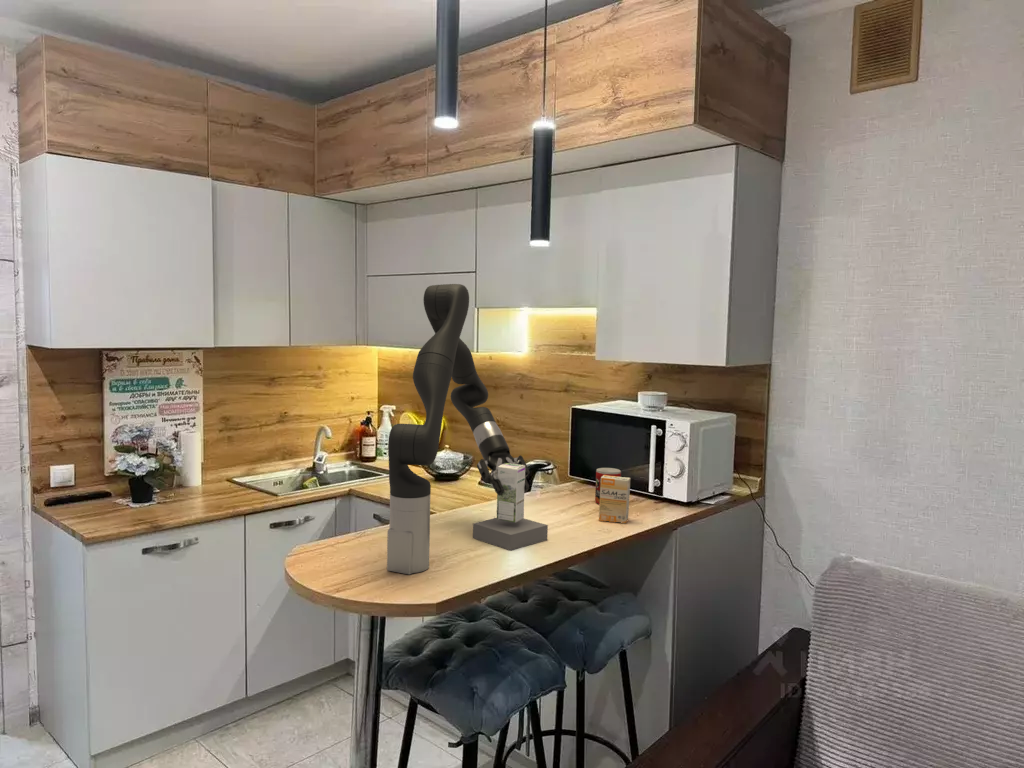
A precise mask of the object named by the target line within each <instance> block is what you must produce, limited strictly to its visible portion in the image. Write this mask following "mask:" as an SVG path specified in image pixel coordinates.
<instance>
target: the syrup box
mask: <svg viewBox="0 0 1024 768" xmlns="http://www.w3.org/2000/svg"><path fill="white" fill-rule="evenodd" d="M498 480H500V482H501V485H502V487H503V489H504V493H503V494H502V495H500V496H499V495H498V494H497V493H496V496H497V497H496V518H497V520H503V521H509V522H518V521H519V520H521V519H523V518H524V519H525V492H524V489H525V465H518V464H509V463H505V464H502V465H500V466H498Z"/></svg>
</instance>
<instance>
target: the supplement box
mask: <svg viewBox="0 0 1024 768" xmlns="http://www.w3.org/2000/svg"><path fill="white" fill-rule="evenodd" d="M630 490H631V477H625V476H624V477H622V476H621V477H617V476H608V475H603V476H602V477H601V485H600V505H599V504H598V505H599V507H598V510H599V511H598V521H600V522H606V521H609V522H608V523H615V522H622V523H621V524H623V523H626V524H627V523H628V521H629V512H630V508H629V507H630V492H631V491H630ZM627 520H628V521H627Z"/></svg>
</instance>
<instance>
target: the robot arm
mask: <svg viewBox="0 0 1024 768" xmlns="http://www.w3.org/2000/svg"><path fill="white" fill-rule="evenodd" d="M423 307H424V312H425V314H426V316H427V318H428V321H429V324H430V326H431V328H432V330H433V332H434V334H433V335H432V336H431V337H430V338H429V339H428V340H427V342H425V343H424V344H423V345H422V347H421V348H420V350H419V351H418V354H417V356H416V359H415V363H414V367H413V373H412V380H413V383H414V387H415V389H416V391H417V393H418V395H419V398H420V399H421V402H422V404H423V407H424V409H425V410H424V411H425V421H424V423H423V424H417V423H415V424H414V423H413V424H412V423H395V424H394V425H393V426H392V427H391V429H390V432H389V435H388V440H387V442H388V444H387V447H388V448H387V449H388V450H387V451H388V452H387V454H388V455H387V456H388V481H389V483H388V484H389V529H387V535H386V536H387V541H386V543H387V544H386V546H387V547H386V549H387V550H386V551H387V552H386V570H387V571H389V572H395V573H400V574H405V575H412V574H416V573H421V572H424V571H426V570H428V569H429V568H430V539H431V537H430V536H431V535H430V534H431V531H430V530H431V529H430V528H431V493H432V492H431V491H432V488H431V487H432V486H431V482H430V481H429V479H426V478H425V477H423V476H420V475H418V474H416V473H415V472H414V471H413V470H412V469H411V468H410V467H409V465H412V466H430V465H433V463H434V462H435V461H436V458H437V455H438V451H439V448H440V447H439V445H440V439H441V432H442V425H443V418H444V417H443V416H444V410H445V407H446V401H447V396H448V392H449V387H450V384H451V380H452V381H453V382H454V383H455V384H457V385H460V386H456V387H455V388H453V389H452V390H451V393H450V400H451V401H450V402H451V403H452V405H453V407H454V408H455V409H456V410H457V411H458V412H459V413H460V415H462V417H463V418H464V419H465V420H466V422H467V424H468V426H469V427H470V430H471V432H472V434H473V437H474V439H475V443H476V445H477V448H478V449H479V453H480V455H481V457H482V458H481V459H480V460H479V461H478V463H477V464H476V467H477V470H478V472H479V475H480V477H481V478H482V480H483V483H485V484H487V483H490V484H491V486H492V487H493V489H494V492H495V493H496V495H497V494H498V495H499V496H500V495H502V494H503V493H504V489H503V487H502V485H501V482H500V480H498V466H500V465H502V464H505V463H509V464H518V465H525V489H524V493H527V492H528V490H530V485H529V482H528V480H527V476H529V474H530V469H529V468H528V465H527V463H526V461H525V459H524V457H523V456H522V455H520V454H519V455H518V456H517V457H513V456H512V454H511V451H510V447H509V445H508V443H507V440H506V438H505V436H504V435H503V433H502V430H501V428H500V427H499V425H498V424H497V422H496V420H495V418H494V416H493V414H492V412H491V410H490V409H489V408H488V407H486V406H481V405H483V404H485V403H486V402H487V401H488V398H489V391H488V388H487V387H486V385H485V383H483V381H482V380H481V378H480V377H479V375H478V372H477V369H476V366H475V361H474V357H473V355H472V354H473V353H472V352H471V350H470V349H469V346H467V344H466V342H464V341H463V339H461V338H460V337H461V335H462V331H463V328H464V324H465V322H466V319H467V316H468V311H469V307H470V294H469V290H468V289H467V287H466V286H465V285H464V284H459V283H449V284H448V283H447V284H433V285H429V286H428V287H426V289H425V290H424V294H423ZM489 469H490V470H491V472H490V471H489Z"/></svg>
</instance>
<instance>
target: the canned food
mask: <svg viewBox="0 0 1024 768" xmlns="http://www.w3.org/2000/svg"><path fill="white" fill-rule="evenodd" d="M603 475H608V476H617V477H622V471H621V470H620V469H619V468H614V467H599V468H596V470H595V496H594V501H595V503H596V504H597V503H598V504H597V505H599V504H600V485H601V477H602V476H603Z"/></svg>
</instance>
